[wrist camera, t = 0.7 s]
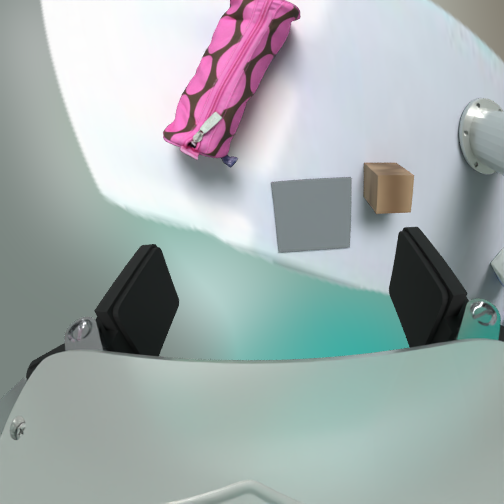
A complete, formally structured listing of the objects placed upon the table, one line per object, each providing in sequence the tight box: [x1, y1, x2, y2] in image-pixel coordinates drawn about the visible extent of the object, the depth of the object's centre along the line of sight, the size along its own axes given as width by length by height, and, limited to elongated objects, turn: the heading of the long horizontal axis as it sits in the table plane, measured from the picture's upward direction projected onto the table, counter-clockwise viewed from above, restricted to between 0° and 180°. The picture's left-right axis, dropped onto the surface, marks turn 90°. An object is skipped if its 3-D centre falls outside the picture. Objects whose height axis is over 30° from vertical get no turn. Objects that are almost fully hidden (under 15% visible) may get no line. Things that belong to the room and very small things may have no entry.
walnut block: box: [364, 163, 414, 214], centre depth 33 cm, size 5×5×6 cm
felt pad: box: [271, 177, 351, 252], centre depth 39 cm, size 11×11×1 cm
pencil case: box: [163, 0, 300, 168], centre depth 25 cm, size 21×10×10 cm, turn 157°
